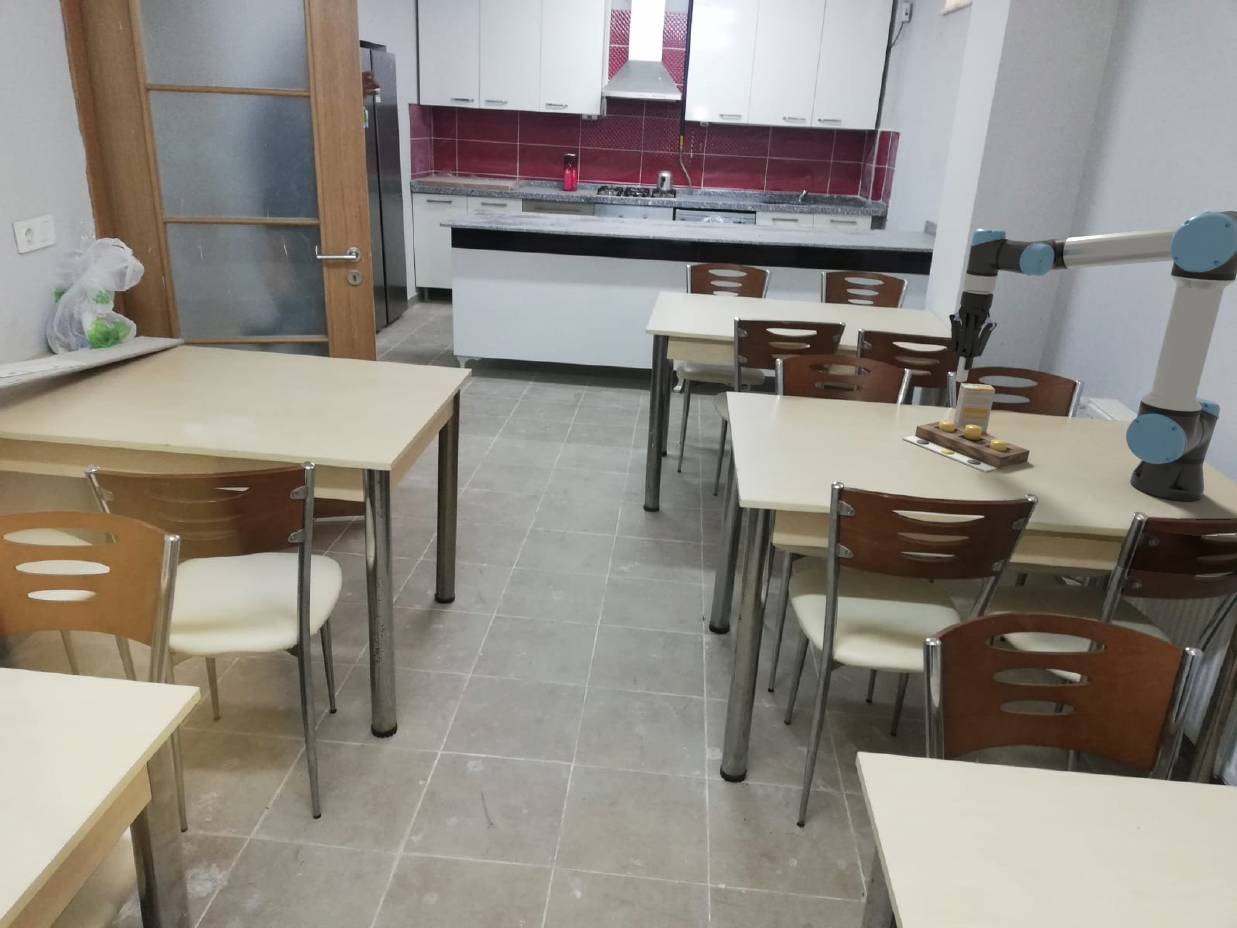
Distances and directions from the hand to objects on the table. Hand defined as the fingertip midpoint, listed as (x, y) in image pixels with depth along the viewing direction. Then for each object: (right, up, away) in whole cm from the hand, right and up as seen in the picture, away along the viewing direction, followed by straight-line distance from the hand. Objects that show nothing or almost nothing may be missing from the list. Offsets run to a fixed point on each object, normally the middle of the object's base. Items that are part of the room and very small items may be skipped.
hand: (960, 380), depth 231 cm
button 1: (-2, -14, +6) cm, 15 cm away
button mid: (+3, -15, -1) cm, 15 cm away
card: (-5, -19, -4) cm, 21 cm away
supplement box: (+8, -13, +15) cm, 21 cm away
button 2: (+7, -19, -7) cm, 21 cm away
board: (+2, -18, 0) cm, 18 cm away
